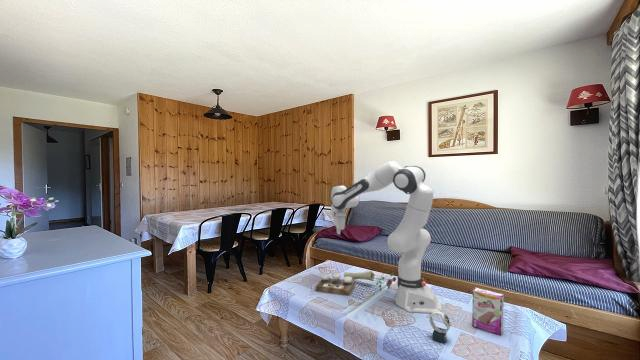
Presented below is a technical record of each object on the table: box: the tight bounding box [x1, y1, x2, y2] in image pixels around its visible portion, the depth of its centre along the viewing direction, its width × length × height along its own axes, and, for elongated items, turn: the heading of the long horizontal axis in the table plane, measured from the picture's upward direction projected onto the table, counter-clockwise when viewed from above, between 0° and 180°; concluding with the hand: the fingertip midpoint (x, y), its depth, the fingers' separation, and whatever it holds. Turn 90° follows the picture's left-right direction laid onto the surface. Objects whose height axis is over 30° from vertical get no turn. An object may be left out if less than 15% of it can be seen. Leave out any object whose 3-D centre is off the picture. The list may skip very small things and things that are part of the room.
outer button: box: [320, 273, 330, 280], centre depth 171 cm, size 5×5×2 cm
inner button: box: [343, 276, 353, 283], centre depth 166 cm, size 5×5×2 cm
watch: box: [428, 310, 452, 344], centre depth 116 cm, size 6×8×11 cm
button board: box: [315, 278, 356, 297], centre depth 167 cm, size 20×14×4 cm
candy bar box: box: [471, 287, 505, 336], centre depth 123 cm, size 11×5×16 cm, turn 48°
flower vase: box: [343, 270, 397, 292], centre depth 169 cm, size 12×12×35 cm
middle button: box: [331, 272, 342, 280], centre depth 169 cm, size 5×5×2 cm
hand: (338, 233), depth 173 cm, fingers closed
